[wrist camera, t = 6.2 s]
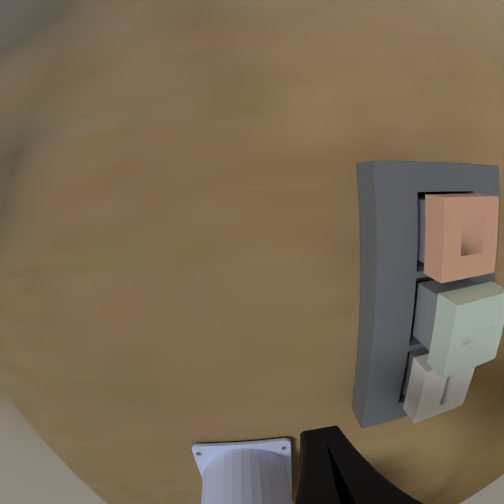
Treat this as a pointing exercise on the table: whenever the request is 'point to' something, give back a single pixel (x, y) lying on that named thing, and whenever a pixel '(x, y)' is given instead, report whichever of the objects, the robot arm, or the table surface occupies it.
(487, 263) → the terracotta key
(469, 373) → the ivory key
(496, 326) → the sage key
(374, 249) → the keypad plate
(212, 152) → the table surface
